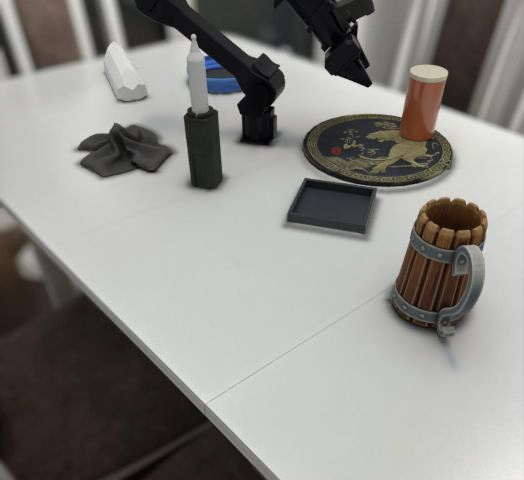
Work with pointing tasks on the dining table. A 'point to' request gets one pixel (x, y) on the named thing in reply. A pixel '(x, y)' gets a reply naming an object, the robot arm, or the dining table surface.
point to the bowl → (219, 77)
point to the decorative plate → (374, 151)
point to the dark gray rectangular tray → (332, 205)
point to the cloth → (123, 150)
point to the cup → (422, 102)
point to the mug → (442, 265)
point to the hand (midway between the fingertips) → (369, 76)
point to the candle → (201, 126)
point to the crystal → (123, 74)
